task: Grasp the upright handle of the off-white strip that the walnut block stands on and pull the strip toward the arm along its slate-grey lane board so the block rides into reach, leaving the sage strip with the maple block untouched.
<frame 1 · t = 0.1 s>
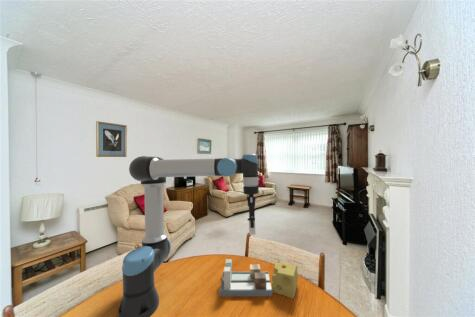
hand: (252, 228, 88), 28 cm above the table, fingers open, 13 cm apart
lane board: (245, 285, 88), on the table
cheese: (285, 289, 85), on the table
walnut block: (260, 286, 84), point 2 cm above the table, touching strip front
strip rear: (247, 269, 91), point 6 cm above the table, slide at 0.0 cm, touching maple block
strip front: (247, 278, 84), point 6 cm above the table, slide at 0.0 cm, touching walnut block
maple block: (255, 276, 91), point 2 cm above the table, touching strip rear
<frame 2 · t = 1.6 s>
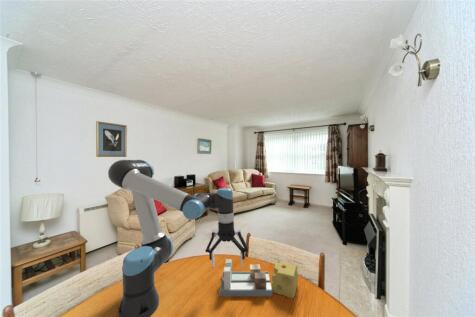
hand: (227, 266, 85), 11 cm above the table, fingers open, 13 cm apart
nothing on the table moved.
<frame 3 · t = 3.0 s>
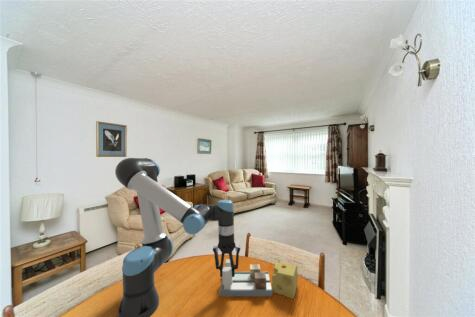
hand: (227, 283, 85), 4 cm above the table, fingers closed on strip front, 3 cm apart
strip front: (247, 278, 84), point 6 cm above the table, slide at 0.0 cm, touching gripper, walnut block
everything else where it was.
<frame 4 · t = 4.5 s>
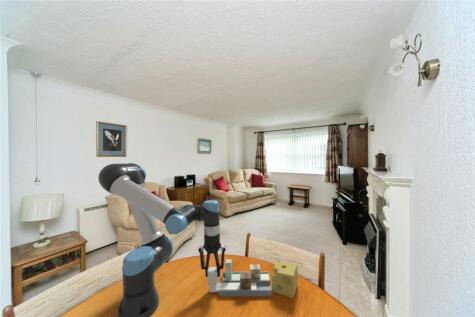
hand: (213, 283, 85), 4 cm above the table, fingers closed on strip front, 3 cm apart
walnut block: (245, 286, 84), point 2 cm above the table, touching strip front
strip front: (232, 278, 85), point 6 cm above the table, slide at 6.9 cm, touching gripper, walnut block
everything else where it was.
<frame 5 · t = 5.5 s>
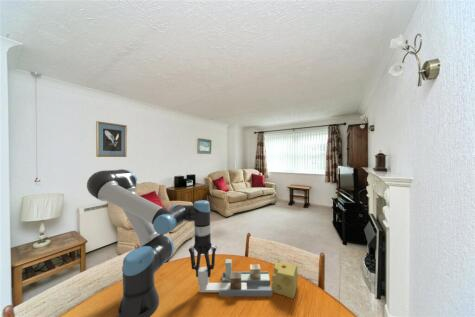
hand: (203, 283, 85), 4 cm above the table, fingers closed on strip front, 3 cm apart
walnut block: (236, 286, 84), point 2 cm above the table, touching strip front
strip front: (223, 278, 85), point 6 cm above the table, slide at 11.5 cm, touching gripper, walnut block
everything else where it was.
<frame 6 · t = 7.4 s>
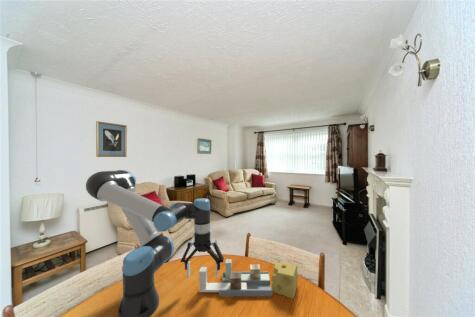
hand: (202, 276, 85), 7 cm above the table, fingers open, 13 cm apart
strip front: (223, 278, 85), point 6 cm above the table, slide at 11.5 cm, touching walnut block
everything else where it was.
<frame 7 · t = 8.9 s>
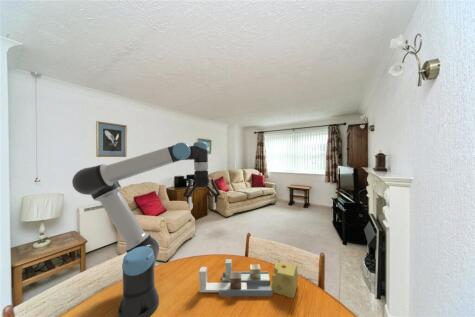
hand: (202, 209, 98), 36 cm above the table, fingers open, 13 cm apart
nothing on the table moved.
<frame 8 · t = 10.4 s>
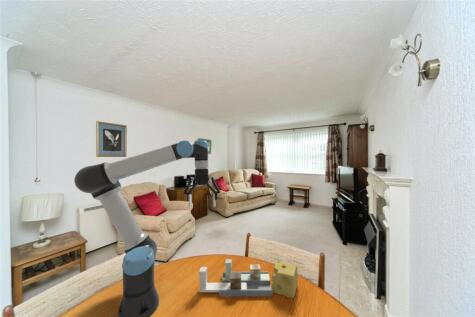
hand: (202, 206, 99), 37 cm above the table, fingers open, 13 cm apart
nothing on the table moved.
at the end: strip front slide at 11.5 cm; walnut block inside the target area (0.5 cm from its centre), point 2.1 cm above the table; strip rear slide at 0.0 cm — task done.
